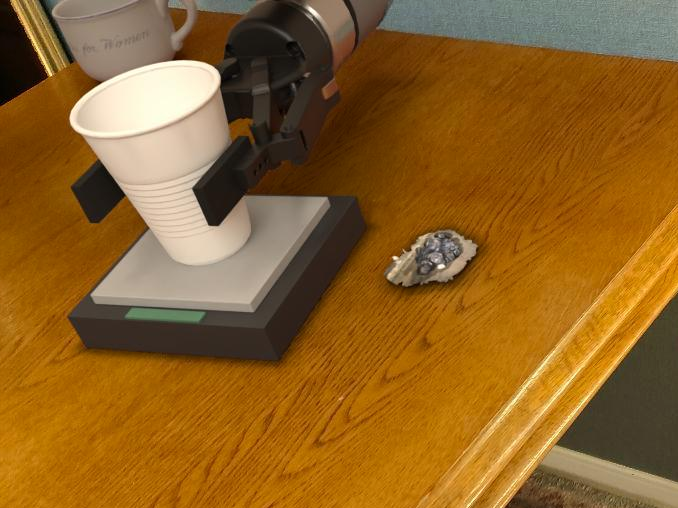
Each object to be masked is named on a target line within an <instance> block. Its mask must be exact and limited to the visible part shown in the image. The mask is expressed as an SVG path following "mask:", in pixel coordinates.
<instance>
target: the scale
mask: <svg viewBox="0 0 678 508" xmlns="http://www.w3.org/2000/svg"><path fill="white" fill-rule="evenodd" d="M244 199H245V201H246V205H247V210H248V214H249V218H250V223H251V233H250V236H249V238H248V240H247V242H246V243H245V245H244V246H243V247H242V248H241V249H240V250H239V251H238V252H236V253H235V254H233V255H232V256H230V257H228V258H226V259H224V260H222V261H219V262H216V263H213V264H209V265H202V266H191V265H186V264H183V263H180V262H176V261H175V260H173V259H172V258H171V257H170V256H169V254H168V253H167V252H166V250H165V249H164V247H163V246H162V245H161V243H160V242H159V240H158V239H157V238H156V236H155V235H154V234H153V232H152V230H151V229H150V228H149V226H148V225H147V226H146V227H145V228H144V230H143V231H142V232H141V233H140V234H139V235H138V236H137V238H136V239H135V240H134V241H133V242H132V243H131V244H130V245H129V247H127V249H126V250H125V251H124V252H123V253H121V255H120V256H119V258H117V260H116V261H115V262H114V263H113V264H112V265H111V266H110V267H109V268H108V269H107V271H106V272H105V273H104V274H103V275H102V276H101V277H100V278H99V280H98V281H97V282H96V283H95V284H94V285H93V286H92V288H91V289H90V290H89V291H88V292H87V293H86V294H85V295H84V296H83V297H82V299H81V300H80V301H79V302H78V303H77V304H76V305H75V307H73V308H72V310H71V311H70V312H69V313H68V314H67V315H66V318H67V319H68V321H69V323H70V324H71V326H72V328H73V329H74V331H75V332H76V334H77V336H78V337H79V339H80V341H81V342H82V344H83V345H84V347H85V348H86V349H100V350H101V349H102V350H115V351H116V350H117V351H128V352H129V351H130V352H131V351H132V352H145V353H157V354H173V355H188V356H199V357H200V356H202V357H213V358H214V357H215V358H228V359H229V358H230V359H243V360H244V359H245V360H257V361H269V362H271V361H272V362H279V361H280V359H281V358H282V357H283V355H284V353H285V352H286V351H287V349H288V347H289V346H290V344H291V343H292V341H293V339H294V338H295V337H296V335H297V334H298V332H299V331H300V329H301V328H302V327H303V325H304V323H305V322H306V321H307V319H308V317H309V316H310V315H311V313H312V312H313V310H314V308H315V306H316V305H317V304H318V302H319V300H320V299H321V298H322V296H323V295H324V293H325V291H326V290H327V288H328V287H329V286H330V284H331V283H332V281H333V279H334V278H335V277H336V275H337V274H338V272H339V271H340V269H341V268H342V266H343V264H344V263H345V262H346V260H347V259H348V257H349V255H350V254H351V252H352V251H353V249H354V248H355V247H356V245H357V244H358V242H359V241H360V239H361V238H362V236H363V235H364V233H365V232H366V230H367V225H366V222H365V218H364V216H363V215H364V214H363V212H362V210H361V206H360V203H359V200H358V196H357V195H332V194H331V195H329V194H327V195H326V194H325V195H324V194H323V195H321V194H319V195H318V194H266V193H265V194H263V193H262V194H259V193H258V194H257V193H256V194H255V193H246V194H245V195H244Z"/></svg>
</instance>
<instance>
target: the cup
mask: <svg viewBox="0 0 678 508" xmlns="http://www.w3.org/2000/svg"><path fill="white" fill-rule="evenodd" d="M214 67H215V66H213V65H211V64H209V63H206V62H203V61H197V60H191V59H189V60H187V59H182V60H172V61H168V62H162V63H156V64H152V65H148V66H143V67H140V68H137V69H134V70H131V71H128V72H125V73H123V74H120V75H118V76H116V77H114V78H112V79H109V80H107V81H105V82H101V83H100V84H98V85H97V86H95V87H94V88H92V89H91V90H89V91H88V92H87V93H85V94H84V95H83V96H82V97H81V98H80V99H79V100H78V101H77V102H76V103H75V105H74V106H73V108H72V109H71V111H70V114H69V123H70V126H71V128H72V129H73V130H74V131H75V132H76V133H78V134H80V135H81V136H82V137H83V139H84V140H85V141H86V143H87V144H88V146H89V147H90V148H91V149H92V151H93V152H94V154H95V156H97V159H98V158H99V159H100V160H101V162H102V163H103V165H104V166H105V167H106V169H107V170H108V171H109V173H110V174H111V175H112V177H113V178H114V180H115V181H116V182H117V183H118V185H119V186H120V188H121V189H122V190H123V192H124V193H125V195H126V196H125V197H127V199H128V200H129V202H130V203H131V205H132V206H133V207H134V209H135V211H136V212H137V213H138V214H139V215H140V217H141V218H142V220H143V221H144V222H145V224H146V225H147V226H149V228H150V229H151V230H152V232H153V234H154V235H155V236H156V238H157V239H158V240H159V242H160V243H161V245H162V246H163V247H164V249H165V250H166V252H167V253H168V254H169V256H170V257H171V258H172V259H173V260H175V261H176V262H180V263H183V264H186V265H191V266H202V265H209V264H213V263H216V262H219V261H222V260H224V259H226V258H228V257H230V256H232V255H233V254H235V253H236V252H238V251H239V250H240V249H241V248H242V247H243V246H244V245H245V243H246V242H247V240H248V238H249V236H250V233H251V223H250V218H249V214H248V210H247V205H246V201H245V199H244V196H243V197H242V199H241V200H240V201H239V202H238V203H237V205H236V206H235V207H234V208H233V210H232V211H231V212H230V213H229V214H228V216H227V217H226V218H225V219H224V220H223V222H222V223H221V224H220V225H219V226H208V223H207V221H206V219H205V217H204V214H203V212H202V210H201V208H200V206H199V203H198V201H197V199H196V197H195V195H194V192H193V190H192V187H193V186H194V185H195V184H196V183H197V182H198V181H199V179H200V178H201V177H202V176H203V175H204V174H205V173H206V172H207V170H208V169H209V168H210V167H211V166H212V165H213V164H214V163H215V161H216V160H217V159H218V158H219V157H220V156H221V155H222V154H223V152H224V151H225V150H226V149H227V148H228V147H229V146H230V145H231V143H232V142H233V140H232V138H231V131H230V127H229V125H228V122H227V117H226V113H225V108H224V104H223V99H222V95H221V91H220V84H221V76H220V74H219V72H218V70H217V69H215V68H214Z"/></svg>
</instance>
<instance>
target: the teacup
mask: <svg viewBox="0 0 678 508" xmlns="http://www.w3.org/2000/svg"><path fill="white" fill-rule="evenodd" d="M169 1H170V0H62V1H59V2H58V3H56V5H55V6H54V7H53V8H52V10H51V16H52V18H53V19H54V20H55V21H56V23H57V25H58V27H59V29H60V31H61V33H62V36H63V38H64V40H65V42H66V43H67V46H68V47H69V49H70V52H71V53H72V56H73V57H74V59H75V61H76V63H77V64H78V66H79V67H80V68H81V70H82V71H83V72H84V73H85V74H86V75H87V76H88V77H90V78H92V79H93V80H96V81H98V82H101V83H103V82H105V81H107V80H109V79H112V78H114V77H116V76H118V75H120V74H123V73H125V72H128V71H131V70H134V69H137V68H140V67H143V66H148V65H152V64H156V63H162V62H168V61H174V60H173V59H174V58H175V56H176V55H177V52H179V51H181V50H182V48H183V47H184V40H185V39H186V38H187V37H188V36H189V35H190V34H191V32H192V31H193V30H194V28H195V27H196V25H197V22H198V18H199V10H198V6H197V3H196V1H195V0H179V1H180V3H182V5H183V6H184V7H185V9H186V14H187V15H186V20H185V22H184V23H183V25H182V26H181V27H180V28H179V29H178V30H176V28H175V25H174V22H173V19H172V17H171V14H170V10H169Z"/></svg>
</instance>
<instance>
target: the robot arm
mask: <svg viewBox="0 0 678 508" xmlns="http://www.w3.org/2000/svg"><path fill="white" fill-rule="evenodd" d="M249 1H252V0H249ZM394 2H395V0H257V1H256V3H255V4H254V5H253V6H252V8H250V9H249V10H248V11H247V12H246V13H245V14H244V15H243V16H242V17H241V18H240V19H239V20H238V21H237V22H236V23H235V24H234V25H233V26H232V27H231V29H230V30H229V32H228V33H227V36H226V40H225V45H224V52H223V57H222V61H220V62H218V63H216V64H215V65H214V66H213V67H214V68H215V69H217V70H218V72H219V74H220V76H221V84H220V91H221V95H222V99H223V104H224V108H225V113H226V117H227V122H228V126H229V125H230V124H232V123H234V122H236V121H237V120H239V119H242V120H245V119H246V120H247V119H248V120H252V122H251V124H250V123H247V126H248V128H249V131H250V133H251V136H252V138H253V142H252V141H251V139H250V136H249V135H238V136H236V138H234V140H232V143H231V145H230V146H229V147H228V148H227V149H226V150H225V151H224V152H223V154H222V155H221V156H220V157H219V158H218V159H217V160H216V161H215V163H214V164H213V165H212V166H211V167H210V168H209V169H208V170H207V172H206V173H205V174H204V175H203V176H202V177H201V178H200V179H199V181H198V182H197V183H196V184H195V185H194V186H193V187H192V190H193V192H194V195H195V197H196V199H197V201H198V203H199V206H200V208H201V210H202V212H203V214H204V217H205V219H206V221H207V223H208V226H219V225H220V224H221V223H222V222H223V220H224V219H225V218H226V217H227V216H228V214H229V213H230V212H231V211H232V210H233V208H234V207H235V206H236V205H237V203H238V202H239V201H240V200H241V199H242V197H243V196H244V195H245V194H248V191H250V190H253V189H254V188H256V187H257V186H258V185H259V184H260V182H262V180H263V179H264V177H266V175H267V174H268V173H269V171H274V170H277V169H279V168H281V166H282V165H283V162H286V161H290V163H291V164H292V166H297V167H299V166H303V165H305V164H306V163H308V162H309V160H310V158H311V155H312V153H313V150H314V148H315V146H316V143H317V141H318V139H319V136H320V134H321V131H322V129H323V127H324V124H325V122H326V119H327V117H328V116H329V113H330V111H332V109H334V108H335V107H336V105H338V104H339V103H340V102H341V100H342V95H341V92H340V89H339V86H338V83H337V78H336V76H335V75H336V74H337V73H338V72H339V71H340V70H341V68H342V66H343V65H344V64H345V63H346V62H347V61H348V59H349V58H350V57H352V55H353V54H354V53H355V52H356V50H358V48H359V47H360V46H361V45H362V44H363V43H364V41H366V39H367V38H368V37H369V36H370V35H371V34H372V33H373V32H375V30H376V29H377V28H378V27H380V25H381V23H382V22H383V21H384V20H385V18H386V17H387V14H388V11H389V10H390V9H391V7H392V5H393V3H394ZM70 190H71V191H72V193H73V195H74V196H75V198H76V200H77V202H78V204H79V206H80V208H81V210H82V211H83V213H84V215H85V216H86V219H87V220H88V222H89V223H90V224H100V223H101V222H102V221H103V220H104V219H105V218H106V217H107V216H108V215H109V214H110V213H111V212H112V211H113V210H114V209H115V208H116V207H117V205H118V204H120V202H121V201H123V199H124V198H125V197H127V196H126V195H125V193H124V192H123V190H122V189H121V188H120V186H119V185H118V183H117V182H116V181H115V180H114V178H113V177H112V175H111V174H110V173H109V171H108V170H107V169H106V167H105V166H104V165H103V163H102V162H101V160H100V159H99V158H98V157H97V159H96V160H95V161H94V162H93V163H92V164H91V166H90V167H89V168H88V169H86V171H85V172H83V173H82V174H81V176H80V177H78V179H77V180H75V181H74V182H73V183H72V184H71V185H70Z"/></svg>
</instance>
